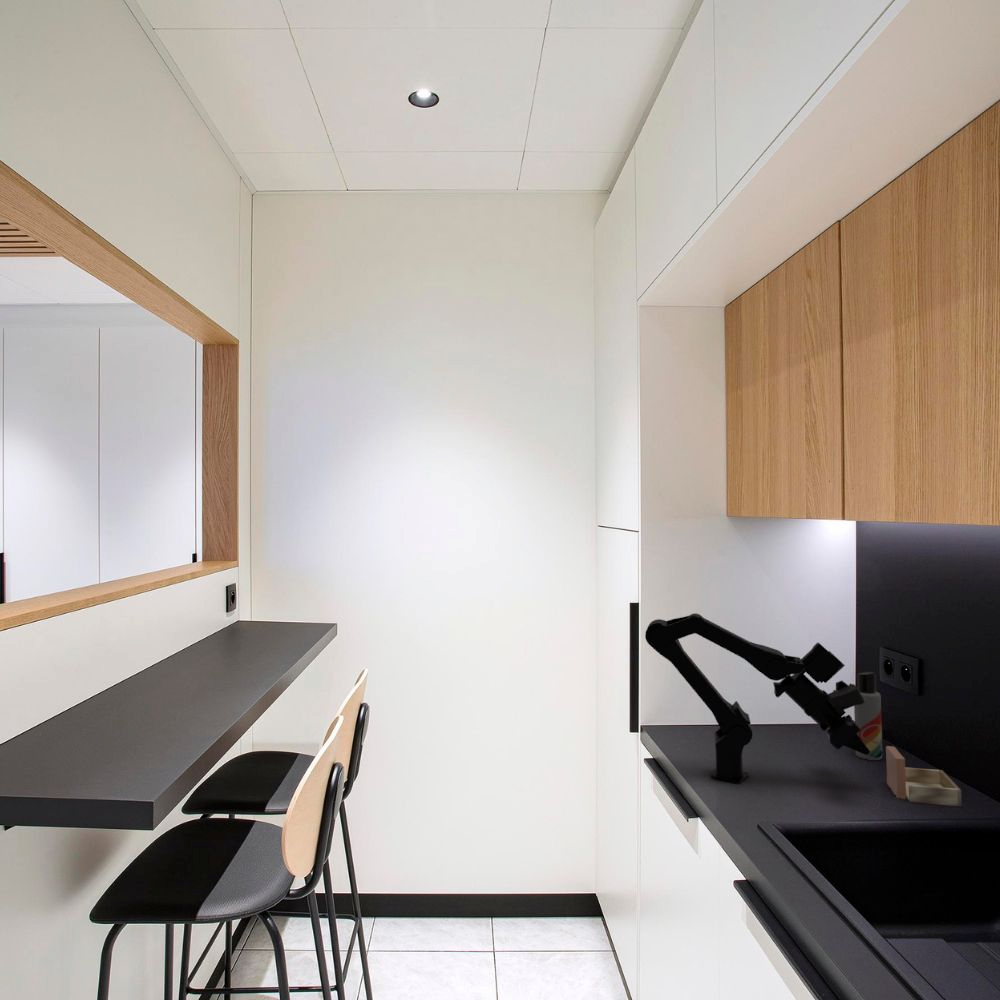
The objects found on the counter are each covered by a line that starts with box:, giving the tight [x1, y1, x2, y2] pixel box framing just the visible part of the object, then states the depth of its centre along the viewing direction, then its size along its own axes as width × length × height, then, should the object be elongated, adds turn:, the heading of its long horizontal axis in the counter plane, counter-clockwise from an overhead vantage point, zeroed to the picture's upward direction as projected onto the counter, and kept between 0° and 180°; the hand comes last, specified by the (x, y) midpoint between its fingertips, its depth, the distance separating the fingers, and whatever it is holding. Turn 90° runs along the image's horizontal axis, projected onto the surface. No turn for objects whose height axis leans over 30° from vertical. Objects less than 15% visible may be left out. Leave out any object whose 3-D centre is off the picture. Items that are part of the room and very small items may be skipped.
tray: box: [905, 766, 963, 807], centre depth 143 cm, size 9×11×3 cm
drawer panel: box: [885, 745, 907, 800], centre depth 144 cm, size 2×8×8 cm, turn 164°
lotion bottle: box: [853, 671, 883, 761], centre depth 165 cm, size 6×6×20 cm
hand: (868, 753), depth 146 cm, fingers closed
